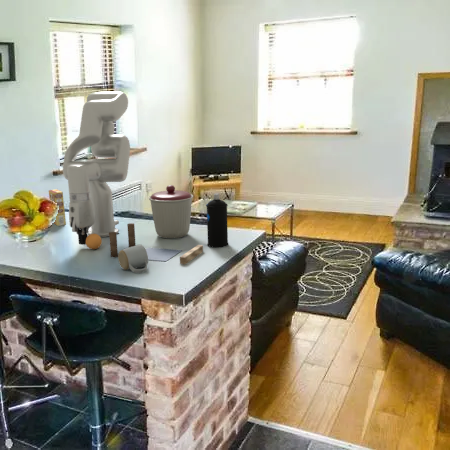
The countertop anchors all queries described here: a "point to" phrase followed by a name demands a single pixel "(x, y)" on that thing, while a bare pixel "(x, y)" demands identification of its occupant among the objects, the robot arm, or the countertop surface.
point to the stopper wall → (191, 254)
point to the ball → (93, 241)
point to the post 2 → (131, 234)
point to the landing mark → (161, 254)
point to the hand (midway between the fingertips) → (83, 243)
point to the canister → (171, 212)
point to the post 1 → (113, 244)
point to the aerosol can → (217, 223)
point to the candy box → (58, 198)
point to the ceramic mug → (133, 258)
